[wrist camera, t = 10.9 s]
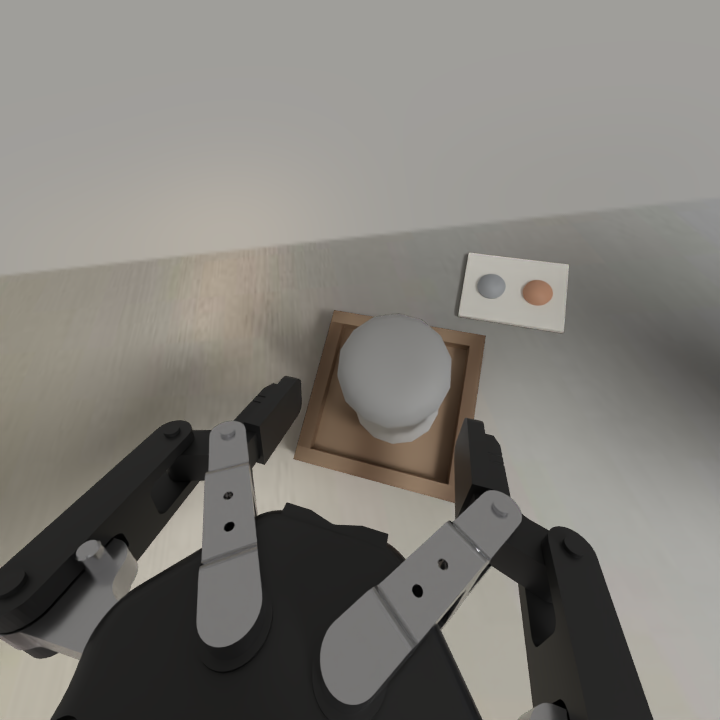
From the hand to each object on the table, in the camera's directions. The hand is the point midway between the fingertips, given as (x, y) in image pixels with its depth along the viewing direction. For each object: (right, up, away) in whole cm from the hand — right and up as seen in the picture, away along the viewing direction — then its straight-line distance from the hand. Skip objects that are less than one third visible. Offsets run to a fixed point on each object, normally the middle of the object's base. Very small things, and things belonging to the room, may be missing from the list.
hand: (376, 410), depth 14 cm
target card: (+12, +8, +10) cm, 18 cm away
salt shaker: (+2, -1, +9) cm, 9 cm away
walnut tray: (+2, -1, +9) cm, 10 cm away
